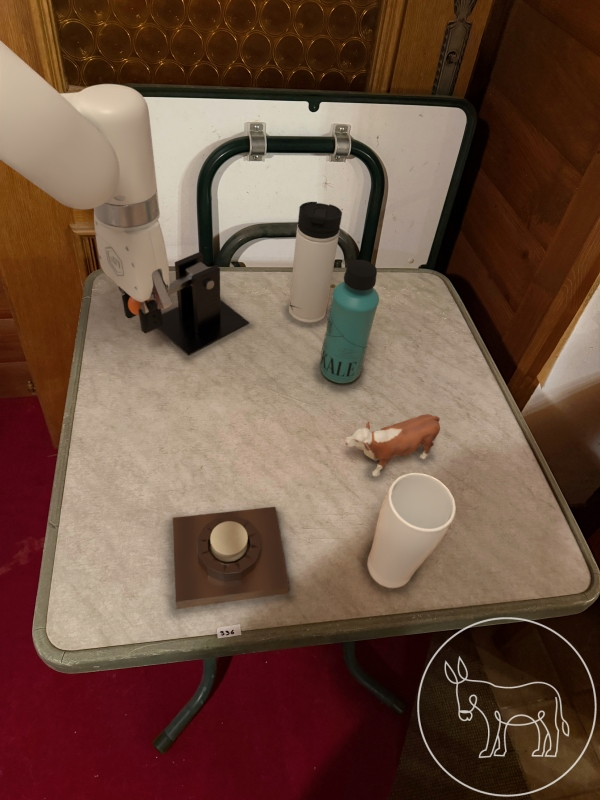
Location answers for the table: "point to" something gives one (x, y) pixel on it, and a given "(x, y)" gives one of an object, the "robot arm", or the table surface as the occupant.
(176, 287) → the lever
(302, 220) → the travel mug
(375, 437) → the bull figurine
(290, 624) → the table surface
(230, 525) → the stop button
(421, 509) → the drinking glass
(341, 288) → the beverage bottle
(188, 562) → the control block
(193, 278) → the switch bracket
